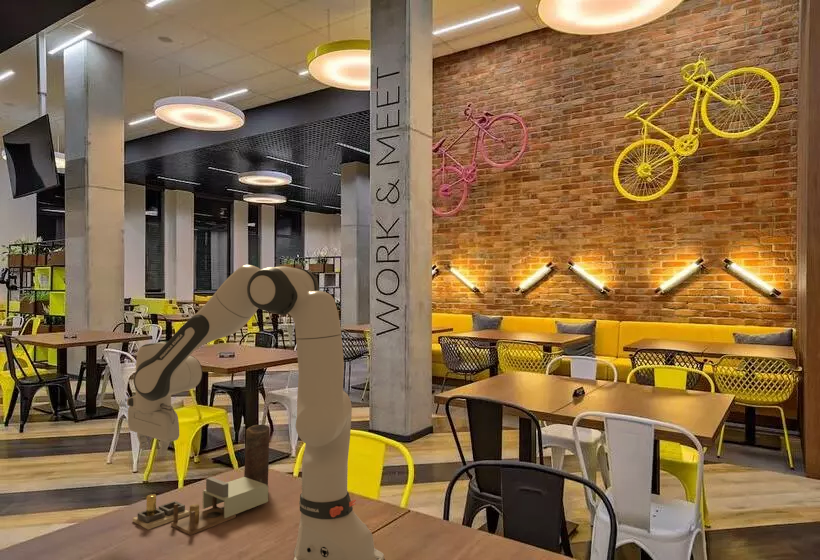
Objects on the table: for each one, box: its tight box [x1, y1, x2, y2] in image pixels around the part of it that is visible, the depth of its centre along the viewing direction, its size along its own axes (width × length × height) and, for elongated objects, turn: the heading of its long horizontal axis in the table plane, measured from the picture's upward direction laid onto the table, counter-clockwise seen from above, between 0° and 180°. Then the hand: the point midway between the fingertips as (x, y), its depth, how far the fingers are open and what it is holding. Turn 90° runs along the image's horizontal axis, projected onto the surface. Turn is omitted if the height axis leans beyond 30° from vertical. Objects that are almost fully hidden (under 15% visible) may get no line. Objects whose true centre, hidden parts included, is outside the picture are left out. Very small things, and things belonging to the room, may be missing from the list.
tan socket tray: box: [132, 500, 190, 530], centre depth 157 cm, size 8×12×2 cm, turn 143°
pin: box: [145, 494, 157, 516], centre depth 155 cm, size 2×2×6 cm
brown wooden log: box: [243, 424, 270, 487], centre depth 178 cm, size 8×7×20 cm
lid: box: [202, 476, 269, 518], centre depth 164 cm, size 11×15×9 cm
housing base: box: [170, 496, 237, 536], centre depth 156 cm, size 9×14×6 cm, turn 143°
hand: (153, 452), depth 155 cm, fingers open, 8 cm apart
